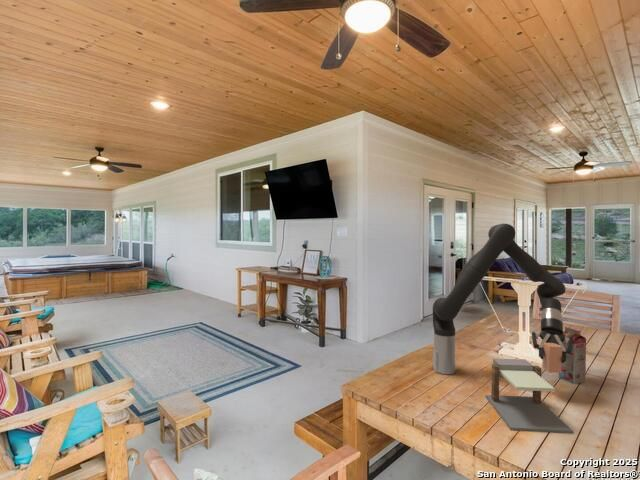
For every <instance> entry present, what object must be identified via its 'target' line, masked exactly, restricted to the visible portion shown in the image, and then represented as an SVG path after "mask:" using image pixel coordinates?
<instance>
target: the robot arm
mask: <svg viewBox="0 0 640 480" xmlns="http://www.w3.org/2000/svg"><path fill="white" fill-rule="evenodd" d="M487 234H488V240H487V242H486V243H485V244H484V246H483V247H481V249H480V250H479V251H477V252H476V253H475V254H474V255H473V256H472V257H470V258H469V260H468V261H467V262H466V263H465V265H464V266H463V267H462V269H461V271H459V274H458V275H457V279H456V282H455V284H454V286H453V288H452V290H451V292H449V294H448V295H447V296H446V297H439V298H437V299H436V300H435V301H434V302H433V304H432V326H433V336H434V337H433V345H434V346H433V347H432V368H433V370H434V372H435V373H437V374H441V375H442V374H443V375H453V374H455V373H456V327H455V324H454V320H455V318H456V317H457V316H458V315H459V313H460V311H461V309H462V307H463V306H464V304H465V302H466V300H467V299H468V298H469V296H470V295H472V293H473V292H474V290H475V289H476V288H477V286H478V285H479V284H480V283H481V281H482V280H483V279H484V278H485V277H486V274H487V273H488V272H489V270H490V269H491V267H493V265H494V263H496V261H497V259H498V258H499V256H500V255H501V254H502V252H504V253H505V254H506V255H507V256H508V257H509V258H510V259H511V260H512V261H514V263H515V264H516V265H517V266H518V267H519V268H520V269H521V271H522V272H523V273H524V274H525V275H526V277H528V278H529V280H530V281H531V282H533V283H539V282H542V283H540V284H538V286H537V288H536V294H537V296H538V298H539V301H540V304H541V307H540V308H541V309H540V311H541V312H540V331H539V333H538V332H535V331H532V332H531V339H532V345H533V346H532V347H533V349H537V350H538V357H539V358H540V360H543V343H555V344H558V345H560V346H561V347H562V363H564V362H566V354H571V351H572V345H573V338H572V337H570V338H567V337H565V336H564V335H563V332H564V326H563V325H564V324H563V323H564V322H563V321H564V318H563V313H562V303H561V301H560V300H559V299H557V298H556V297H559V296H562V295H564V294H565V293H566V286H565V284H564V283H563V281H562V280H560V279H559V278H557V277H555V276H554V275H553V274H551V273H550V272H548V271H547V270H545V268H544V267H543V266H542V265H541V264H540V263H539V262H538V261H537V260H536V258H534V257H533V256H532V255H531V254H529V253H528V252H526V251H525V250H524V249H523V248H522V247H521V246H519V244H517V242H516V241H515V240H514V239H515V238H516V230H515V227H514V226H513V225H511V224H510V223H509V224H508V223H500V224H496V225H493V226H491V227H490V229H489V230H488V233H487ZM538 339H541V340H542V341H541V343H539V344H538V342H537V341H538ZM564 340H565V341H566V343H567V344H568V349H565V347H564V346H563V343H562V342H563V341H564Z"/></svg>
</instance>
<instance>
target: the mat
mask: <svg viewBox="0 0 640 480" xmlns="http://www.w3.org/2000/svg"><path fill="white" fill-rule="evenodd" d="M484 397H485V398H486V399H487V401H488V403H489V404H490V405H491V406H492V407H493V409H494V411H496V413H497V414H498V415H499V417H500V418H501V419H502V421H503V422H504V424H505V425H506V426H507V427H508V428H509V430H510V431H522V432H541V433H542V432H544V433H545V432H546V433H547V432H548V433H565V434H573V433H574V430H573V429H572V428H571V427H570V426H569V425H568V424H567V423H566V422H565V421H563V420H562V419H561V418H560V417H559V416H558V415H557V414H556V413H555V412H554V411H553V410H552V409H551V408H550V407H549V406H547V405H546V404H545V403H544V402H543V401H542V400H541V404H536V403H535V402H534V401H533V396H525V395H524V396H522V395H501V394H499V402H494V401H493V400H492V399H491V394H485V396H484Z"/></svg>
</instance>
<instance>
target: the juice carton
mask: <svg viewBox="0 0 640 480" xmlns="http://www.w3.org/2000/svg"><path fill="white" fill-rule="evenodd" d="M563 335H564V336H565V337H567V338H570V337H572V338H573V345H572V351H571V354H566V362H564V363H562V366H561V373H558V378H559V379H561V380H564V381H566V382H569V383H571V384H579V383H580V384H581V383H586V369H587V367H586V366H587V361H586V360H587V355H586V354H587V338H586V337H584V336H583V335H581V331H580V330H577V329H573V328H570V327H566V326H564V330H563ZM562 343H563V346H564V347H565V349H568V344H567V343H566V341H565V340H564V341H563V342H562Z"/></svg>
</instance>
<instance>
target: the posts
mask: <svg viewBox="0 0 640 480" xmlns="http://www.w3.org/2000/svg"><path fill="white" fill-rule="evenodd" d="M542 369H543V368H542V367H540V366H539V365H533V371H534V372H535V373H536V374H538V375H539V376H540V377H541V378H542V371H543V370H542ZM490 393H491V394H490V395H491V399H492V400H493V401H494V402H499V395H500V378H499V366H498V365H495V364H493V363H492V364H491V392H490ZM532 397H533V401H534V402H535V403H536V404H541V401H542V391H532Z"/></svg>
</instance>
